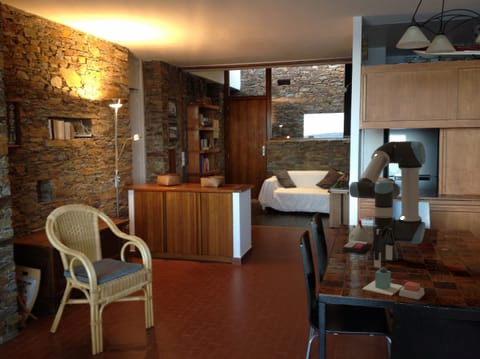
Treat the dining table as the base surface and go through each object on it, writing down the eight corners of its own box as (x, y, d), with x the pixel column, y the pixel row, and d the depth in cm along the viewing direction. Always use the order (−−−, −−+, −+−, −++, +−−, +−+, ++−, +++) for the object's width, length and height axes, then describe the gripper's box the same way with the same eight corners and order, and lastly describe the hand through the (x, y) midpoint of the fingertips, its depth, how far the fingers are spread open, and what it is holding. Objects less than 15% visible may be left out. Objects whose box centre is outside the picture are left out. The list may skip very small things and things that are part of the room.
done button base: (405, 290, 194) (405, 284, 193) (424, 294, 189) (424, 288, 188) (399, 295, 187) (399, 289, 187) (418, 299, 182) (418, 293, 182)
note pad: (374, 281, 206) (375, 280, 206) (402, 286, 198) (402, 285, 198) (362, 289, 196) (362, 288, 196) (391, 295, 187) (391, 294, 187)
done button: (407, 285, 191) (408, 281, 191) (419, 288, 188) (419, 283, 188) (403, 288, 187) (404, 284, 187) (416, 291, 184) (416, 286, 184)
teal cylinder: (379, 284, 200) (379, 266, 200) (390, 286, 197) (390, 268, 197) (375, 287, 197) (375, 268, 196) (386, 289, 193) (386, 270, 193)
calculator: (342, 245, 261) (351, 239, 273) (342, 252, 261) (351, 246, 274) (361, 248, 255) (368, 241, 267) (361, 255, 255) (368, 248, 268)
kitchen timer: (369, 241, 284) (369, 218, 283) (373, 246, 270) (374, 222, 269) (347, 241, 285) (347, 218, 284) (350, 246, 272) (350, 222, 270)
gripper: (386, 211, 206) (385, 255, 208) (363, 220, 187) (363, 268, 189) (402, 212, 201) (401, 257, 203) (381, 221, 182) (380, 271, 184)
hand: (383, 263), depth 196 cm, fingers open, 13 cm apart
